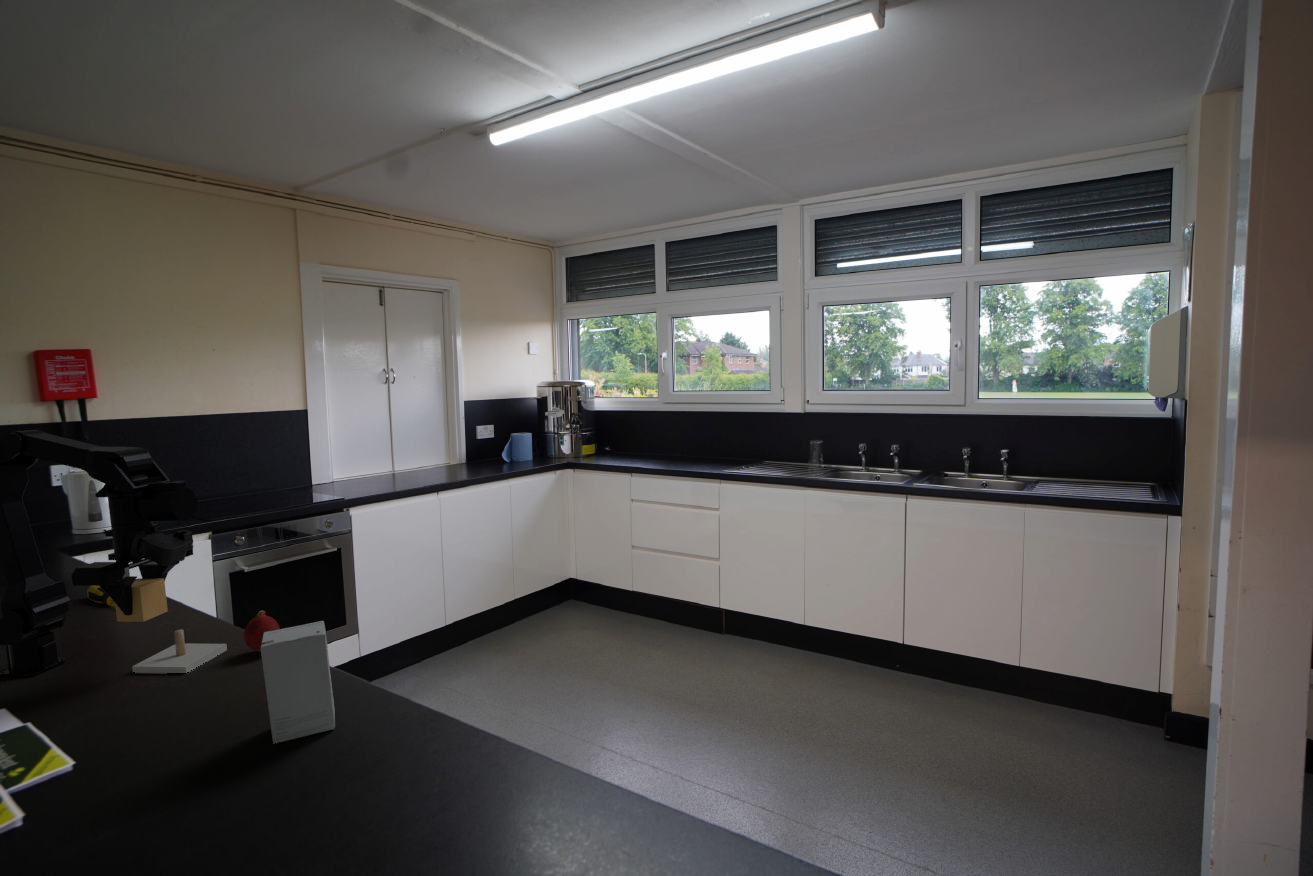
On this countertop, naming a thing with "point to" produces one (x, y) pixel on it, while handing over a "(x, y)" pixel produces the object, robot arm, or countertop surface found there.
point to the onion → (258, 630)
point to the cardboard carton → (145, 600)
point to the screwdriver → (99, 596)
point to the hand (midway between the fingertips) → (142, 609)
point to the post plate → (179, 657)
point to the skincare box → (298, 681)
